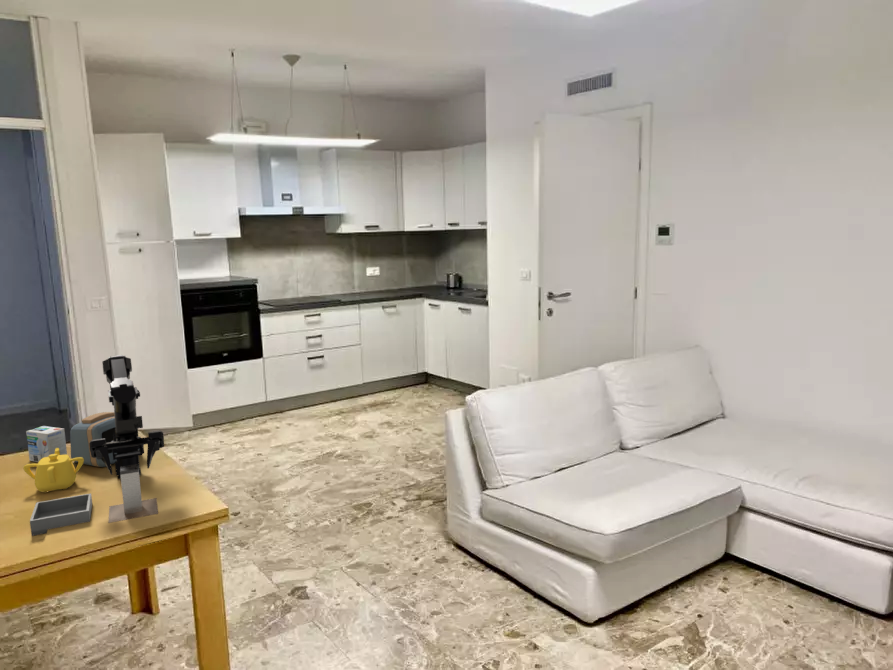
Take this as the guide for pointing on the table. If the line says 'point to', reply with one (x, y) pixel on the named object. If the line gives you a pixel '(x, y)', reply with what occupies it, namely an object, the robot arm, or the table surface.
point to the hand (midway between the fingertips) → (129, 470)
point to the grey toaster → (92, 437)
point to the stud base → (147, 509)
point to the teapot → (54, 471)
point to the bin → (60, 513)
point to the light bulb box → (45, 442)
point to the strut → (131, 489)
